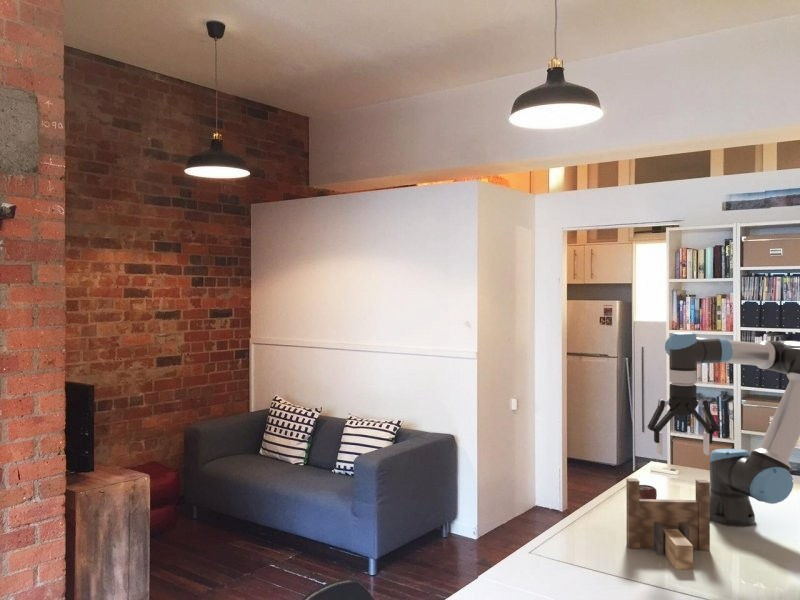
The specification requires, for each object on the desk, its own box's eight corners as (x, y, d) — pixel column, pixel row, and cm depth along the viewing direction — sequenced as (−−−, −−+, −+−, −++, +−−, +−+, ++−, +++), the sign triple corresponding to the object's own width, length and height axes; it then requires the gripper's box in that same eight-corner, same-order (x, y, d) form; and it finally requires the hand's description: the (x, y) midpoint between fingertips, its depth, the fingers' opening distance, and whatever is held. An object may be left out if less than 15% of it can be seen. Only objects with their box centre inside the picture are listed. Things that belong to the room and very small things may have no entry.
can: (658, 535, 207) (658, 490, 207) (636, 533, 209) (636, 489, 208) (654, 528, 213) (654, 484, 213) (633, 526, 215) (633, 483, 214)
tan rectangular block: (677, 550, 195) (677, 527, 195) (693, 569, 182) (693, 544, 182) (661, 549, 196) (661, 526, 196) (675, 568, 182) (675, 544, 182)
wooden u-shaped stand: (706, 546, 198) (706, 479, 197) (715, 556, 190) (715, 487, 190) (626, 544, 200) (626, 478, 199) (633, 554, 192) (632, 485, 192)
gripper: (721, 382, 204) (721, 451, 204) (637, 381, 206) (637, 450, 206) (731, 385, 196) (730, 457, 196) (643, 385, 198) (643, 456, 199)
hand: (682, 454), depth 201 cm, fingers open, 13 cm apart
